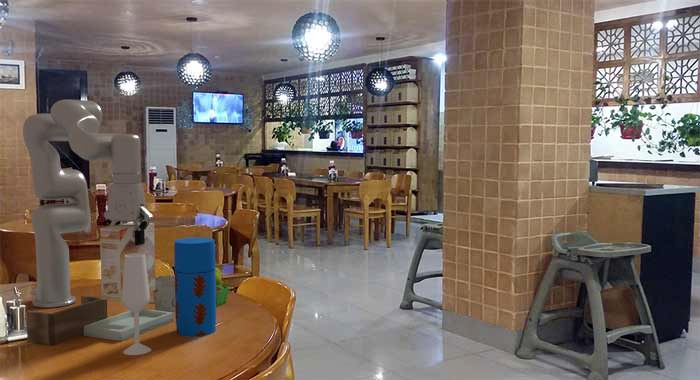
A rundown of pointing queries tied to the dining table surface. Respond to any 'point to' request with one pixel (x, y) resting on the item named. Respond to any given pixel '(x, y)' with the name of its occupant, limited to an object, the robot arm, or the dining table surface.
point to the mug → (164, 293)
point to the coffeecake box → (123, 257)
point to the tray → (127, 324)
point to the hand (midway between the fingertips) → (128, 243)
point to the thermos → (195, 286)
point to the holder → (64, 321)
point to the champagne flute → (135, 295)
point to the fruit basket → (220, 289)
